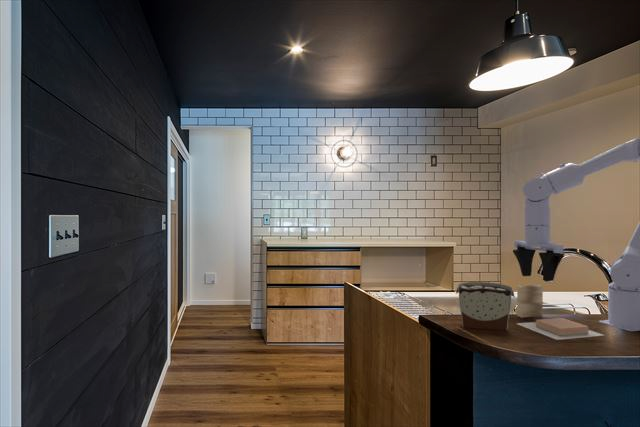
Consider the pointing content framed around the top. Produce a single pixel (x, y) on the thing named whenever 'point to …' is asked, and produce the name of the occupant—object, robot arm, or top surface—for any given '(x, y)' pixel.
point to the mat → (533, 327)
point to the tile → (562, 327)
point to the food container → (485, 305)
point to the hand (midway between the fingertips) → (537, 278)
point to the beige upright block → (530, 301)
